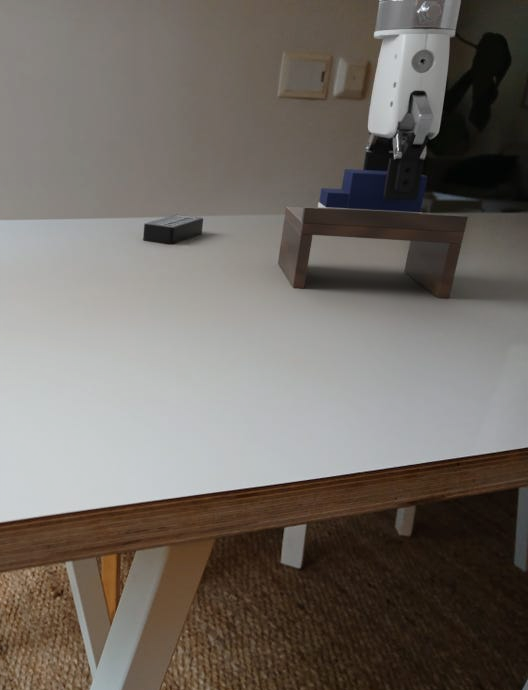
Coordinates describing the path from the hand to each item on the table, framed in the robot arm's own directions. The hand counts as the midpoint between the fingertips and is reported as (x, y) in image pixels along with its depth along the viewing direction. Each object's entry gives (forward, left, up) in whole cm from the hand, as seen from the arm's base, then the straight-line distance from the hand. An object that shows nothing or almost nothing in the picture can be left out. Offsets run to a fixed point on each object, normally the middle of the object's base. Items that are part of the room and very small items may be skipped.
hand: (386, 193), depth 81 cm
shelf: (+1, 0, -10) cm, 10 cm away
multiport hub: (+22, -20, -10) cm, 31 cm away
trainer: (+2, 0, -3) cm, 3 cm away
